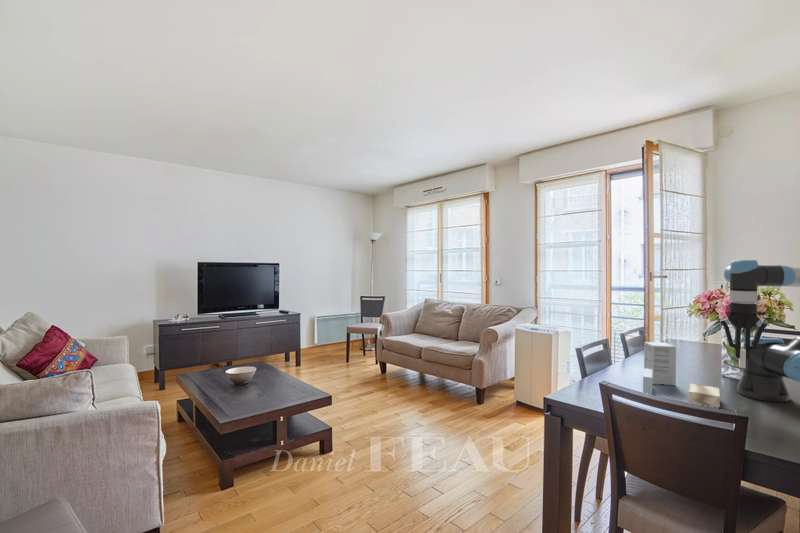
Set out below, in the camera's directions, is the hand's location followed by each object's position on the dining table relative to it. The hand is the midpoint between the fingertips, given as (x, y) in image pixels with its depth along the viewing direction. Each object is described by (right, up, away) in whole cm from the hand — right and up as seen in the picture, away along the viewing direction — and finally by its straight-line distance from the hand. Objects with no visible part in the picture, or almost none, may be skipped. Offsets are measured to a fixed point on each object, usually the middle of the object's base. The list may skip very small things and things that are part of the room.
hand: (742, 367), depth 141 cm
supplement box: (-10, -15, +31) cm, 35 cm away
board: (-23, -15, +17) cm, 32 cm away
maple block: (-9, -15, +6) cm, 19 cm away
